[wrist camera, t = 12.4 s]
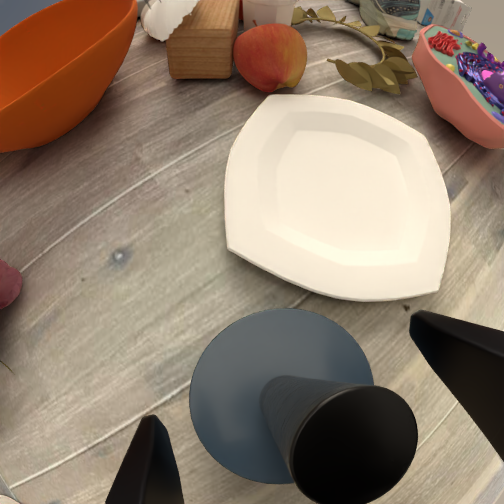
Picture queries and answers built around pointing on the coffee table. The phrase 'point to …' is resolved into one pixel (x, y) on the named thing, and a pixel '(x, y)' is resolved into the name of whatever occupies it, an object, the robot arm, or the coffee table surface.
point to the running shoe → (391, 16)
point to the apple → (270, 56)
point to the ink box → (444, 13)
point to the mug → (7, 500)
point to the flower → (9, 285)
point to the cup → (267, 12)
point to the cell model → (462, 83)
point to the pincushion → (166, 16)
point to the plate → (337, 200)
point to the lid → (300, 409)
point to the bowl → (60, 67)
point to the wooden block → (204, 41)
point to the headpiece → (361, 73)
